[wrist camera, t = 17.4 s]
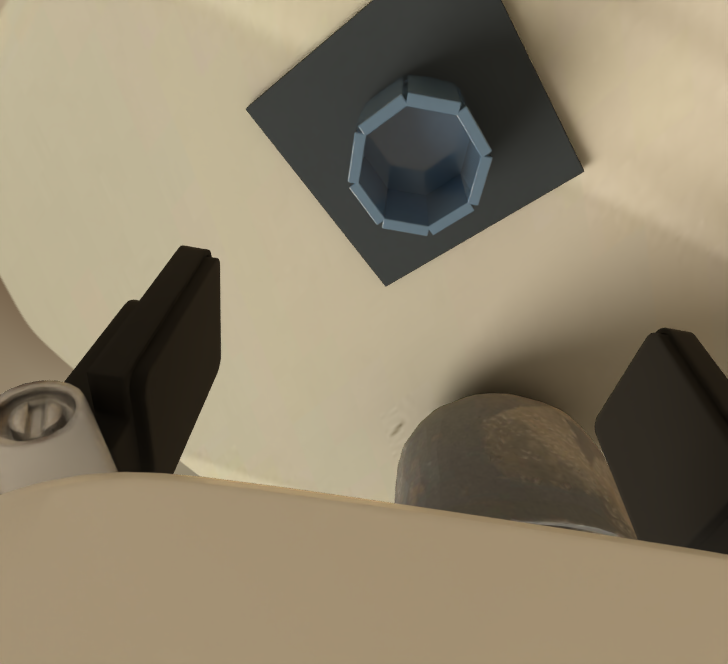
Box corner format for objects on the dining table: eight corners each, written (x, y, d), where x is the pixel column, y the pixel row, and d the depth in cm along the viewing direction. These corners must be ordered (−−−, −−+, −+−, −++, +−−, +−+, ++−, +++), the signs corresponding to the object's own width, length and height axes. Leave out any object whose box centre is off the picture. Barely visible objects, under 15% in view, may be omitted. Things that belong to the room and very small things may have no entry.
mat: (247, 106, 30) (245, 109, 29) (462, -77, 24) (463, -77, 24) (385, 282, 36) (385, 287, 35) (581, 168, 30) (584, 171, 30)
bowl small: (334, 126, 29) (322, 152, 25) (437, 47, 27) (442, 63, 23) (400, 218, 32) (399, 256, 28) (499, 156, 30) (513, 187, 26)
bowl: (351, 461, 47) (331, 636, 35) (427, 312, 37) (437, 484, 25) (526, 511, 50) (564, 690, 37) (643, 384, 39) (747, 572, 27)
